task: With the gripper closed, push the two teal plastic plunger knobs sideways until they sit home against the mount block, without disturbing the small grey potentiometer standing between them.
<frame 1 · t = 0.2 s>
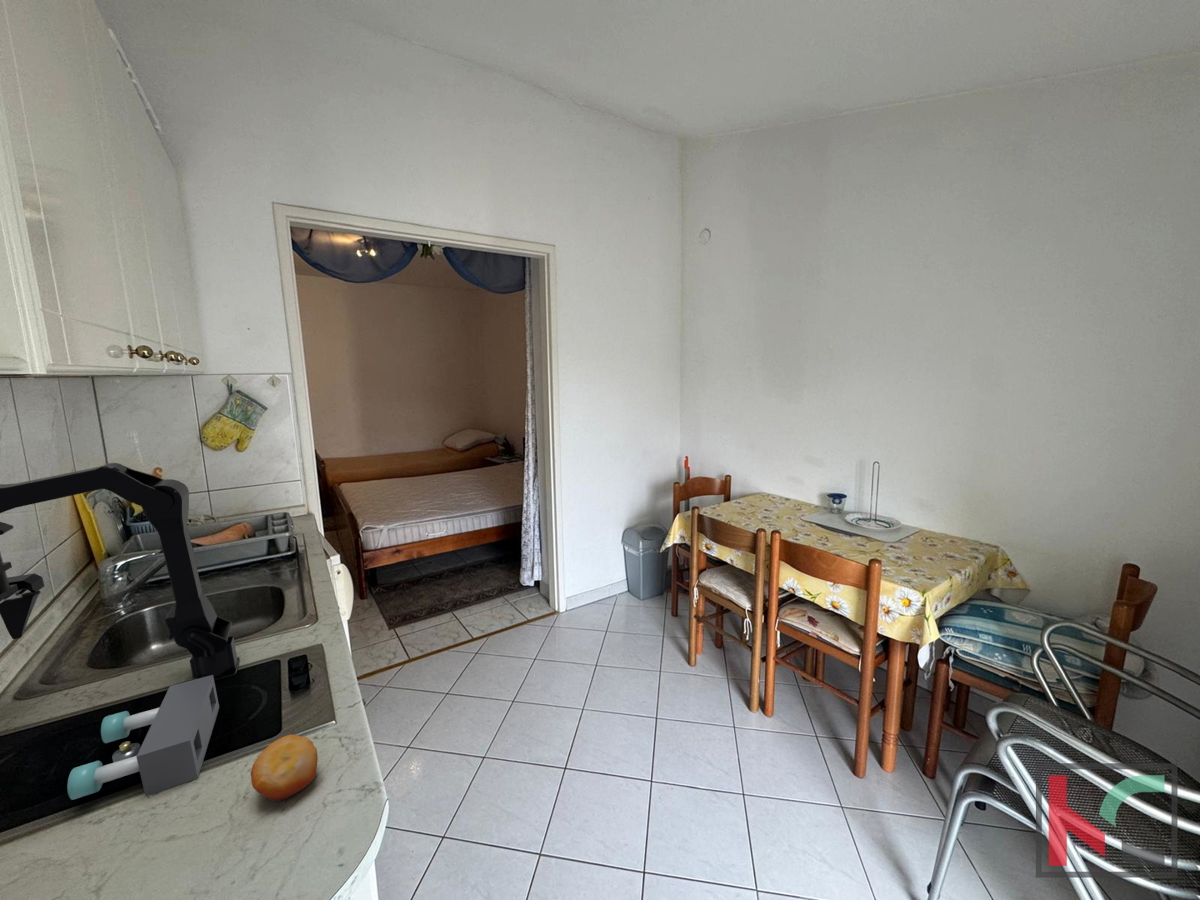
hand: (0, 651, 84), 14 cm above the worktop, fingers open, 9 cm apart
fruit: (288, 789, 72), on the worktop
mount: (186, 746, 81), on the worktop
knob b: (116, 770, 72), point 4 cm above the worktop, slide at 5.0 cm
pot: (129, 764, 78), on the worktop
knob a: (142, 719, 82), point 4 cm above the worktop, slide at 5.0 cm
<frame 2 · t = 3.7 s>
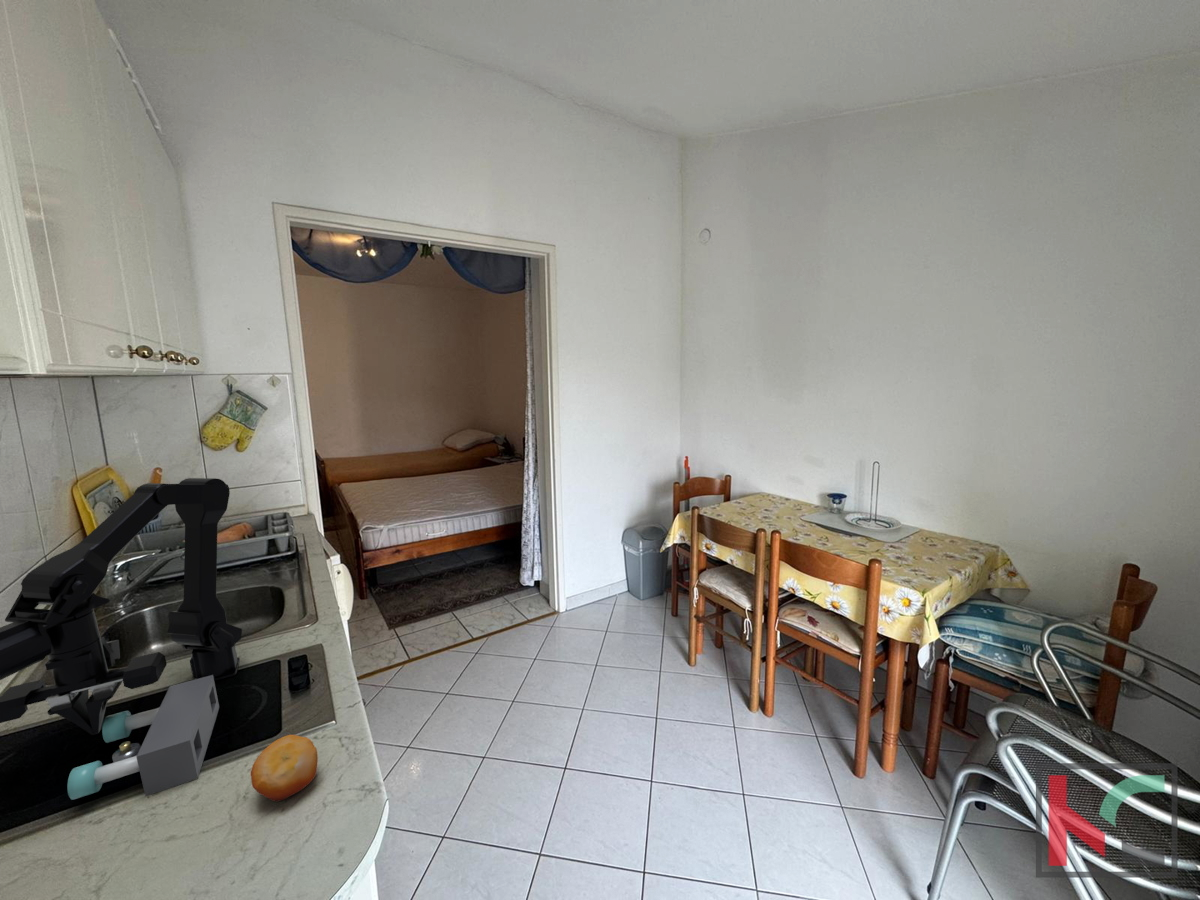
hand: (96, 732, 80), 3 cm above the worktop, fingers closed
knob a: (143, 719, 82), point 4 cm above the worktop, slide at 4.8 cm, touching gripper
everything else where it was.
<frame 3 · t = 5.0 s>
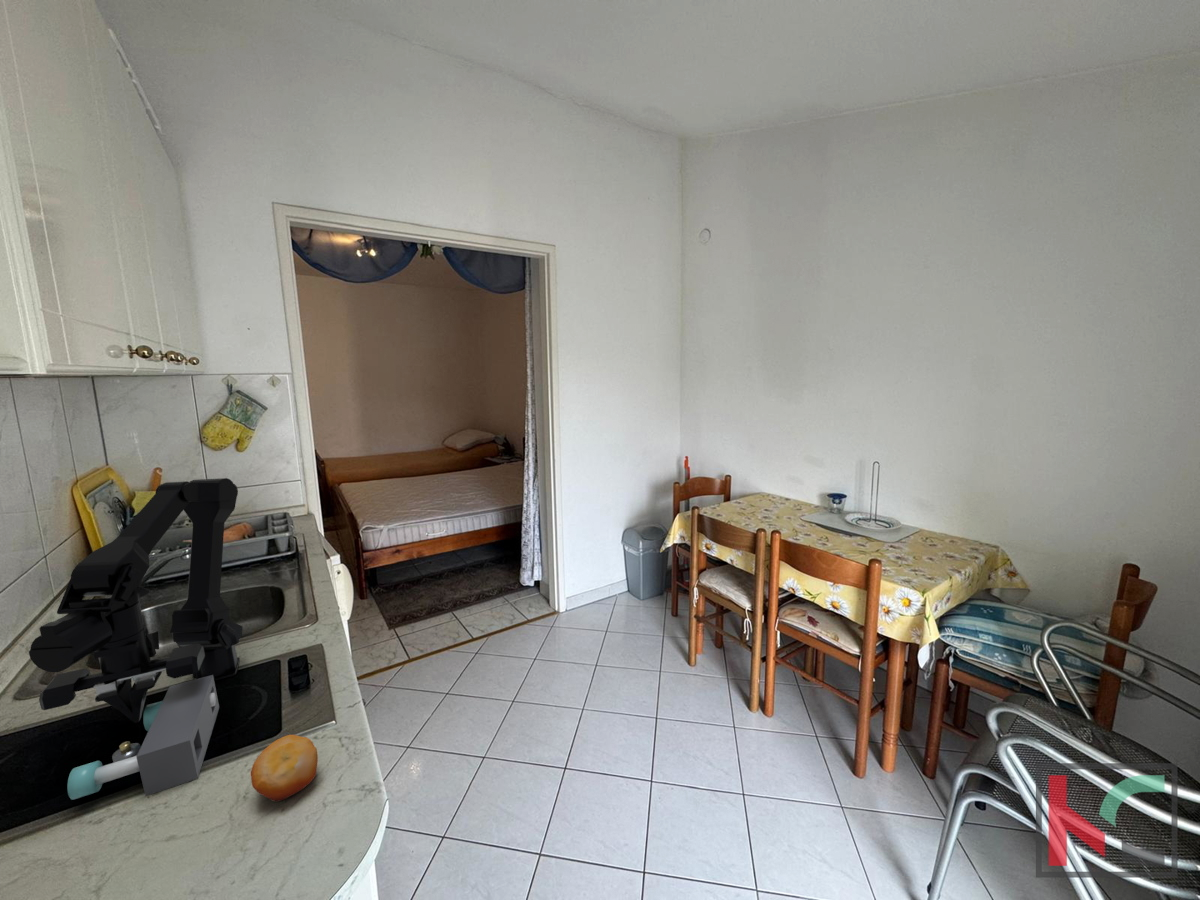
hand: (137, 720, 82), 3 cm above the worktop, fingers closed
knob a: (181, 708, 85), point 4 cm above the worktop, slide at -0.1 cm, touching gripper
everything else where it was.
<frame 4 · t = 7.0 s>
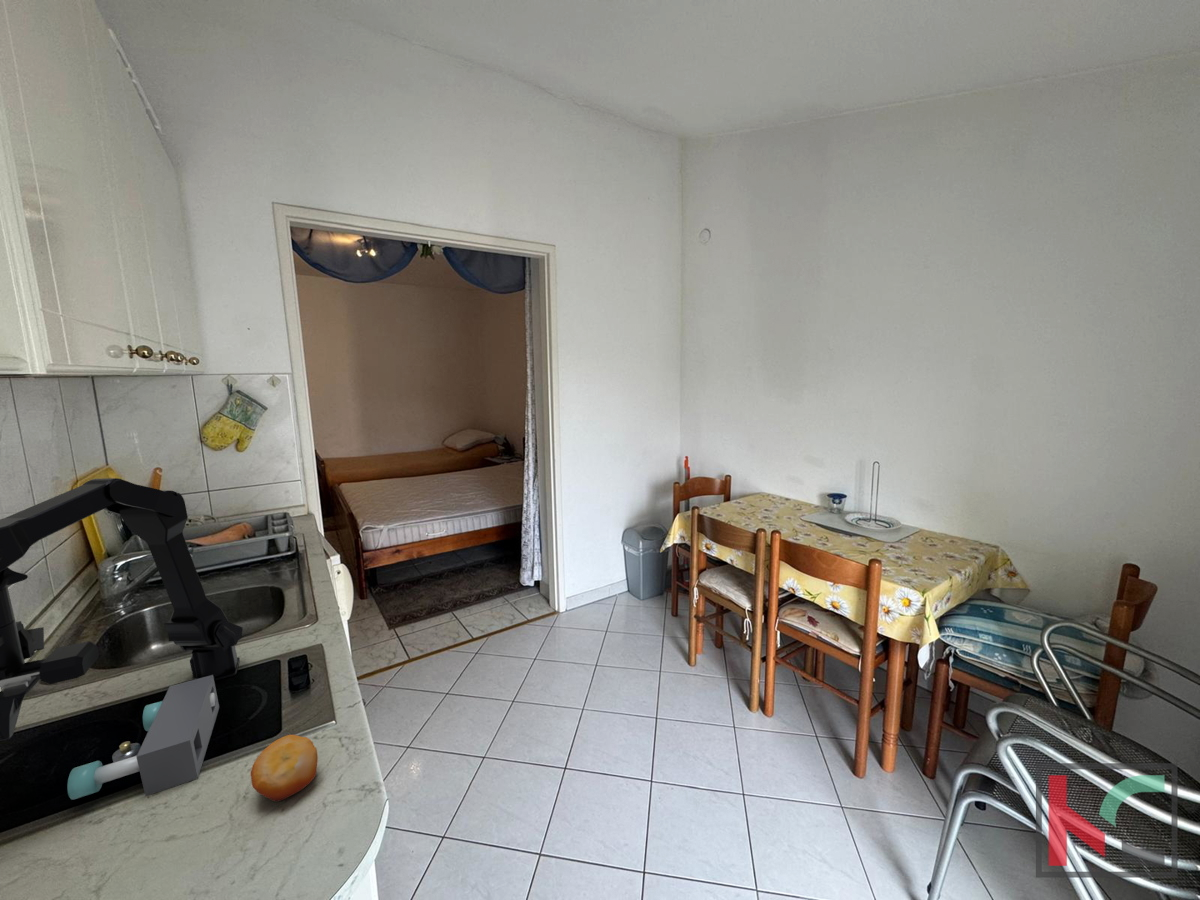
hand: (7, 737, 66), 13 cm above the worktop, fingers closed
knob a: (181, 708, 85), point 4 cm above the worktop, slide at 0.0 cm
everything else where it was.
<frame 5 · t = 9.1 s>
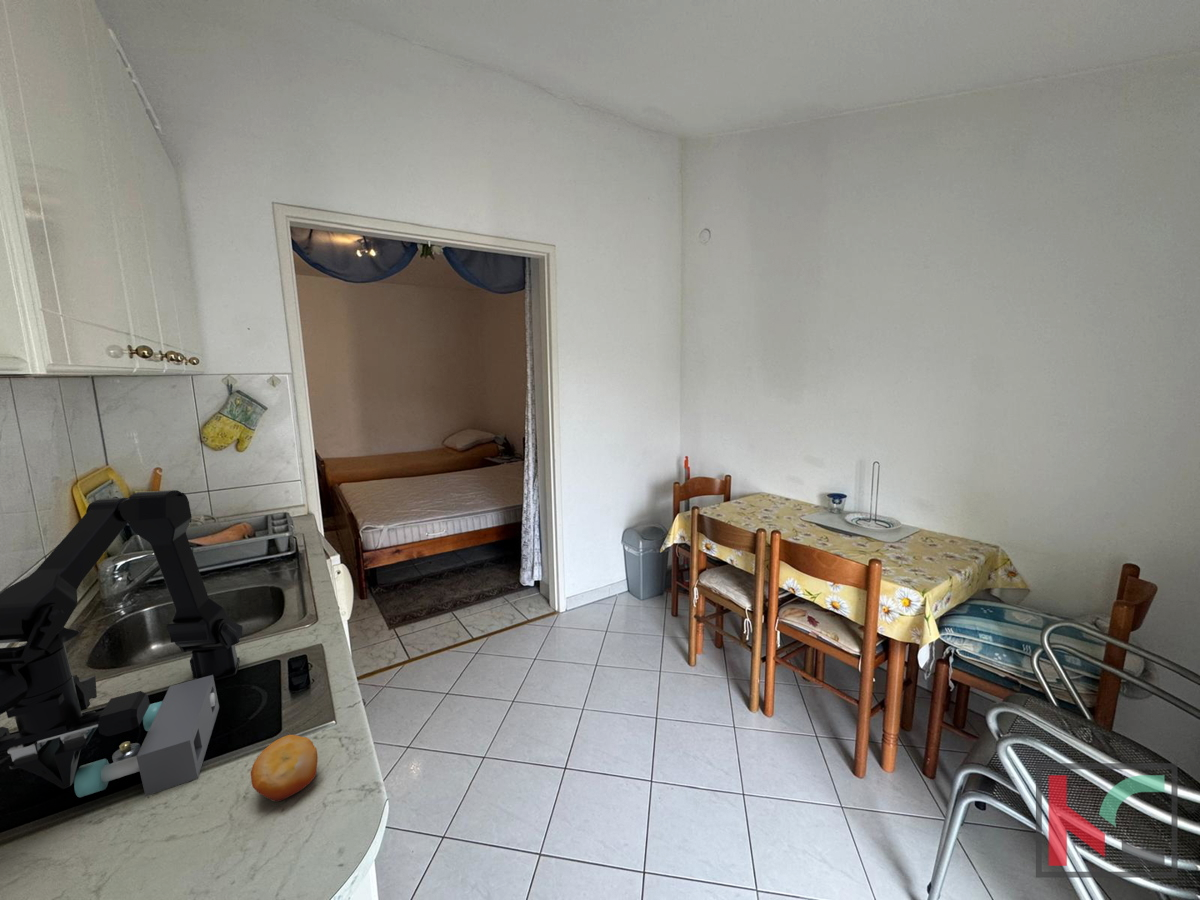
hand: (68, 785, 70), 3 cm above the worktop, fingers closed
knob b: (123, 768, 72), point 4 cm above the worktop, slide at 4.3 cm, touching gripper
everything else where it was.
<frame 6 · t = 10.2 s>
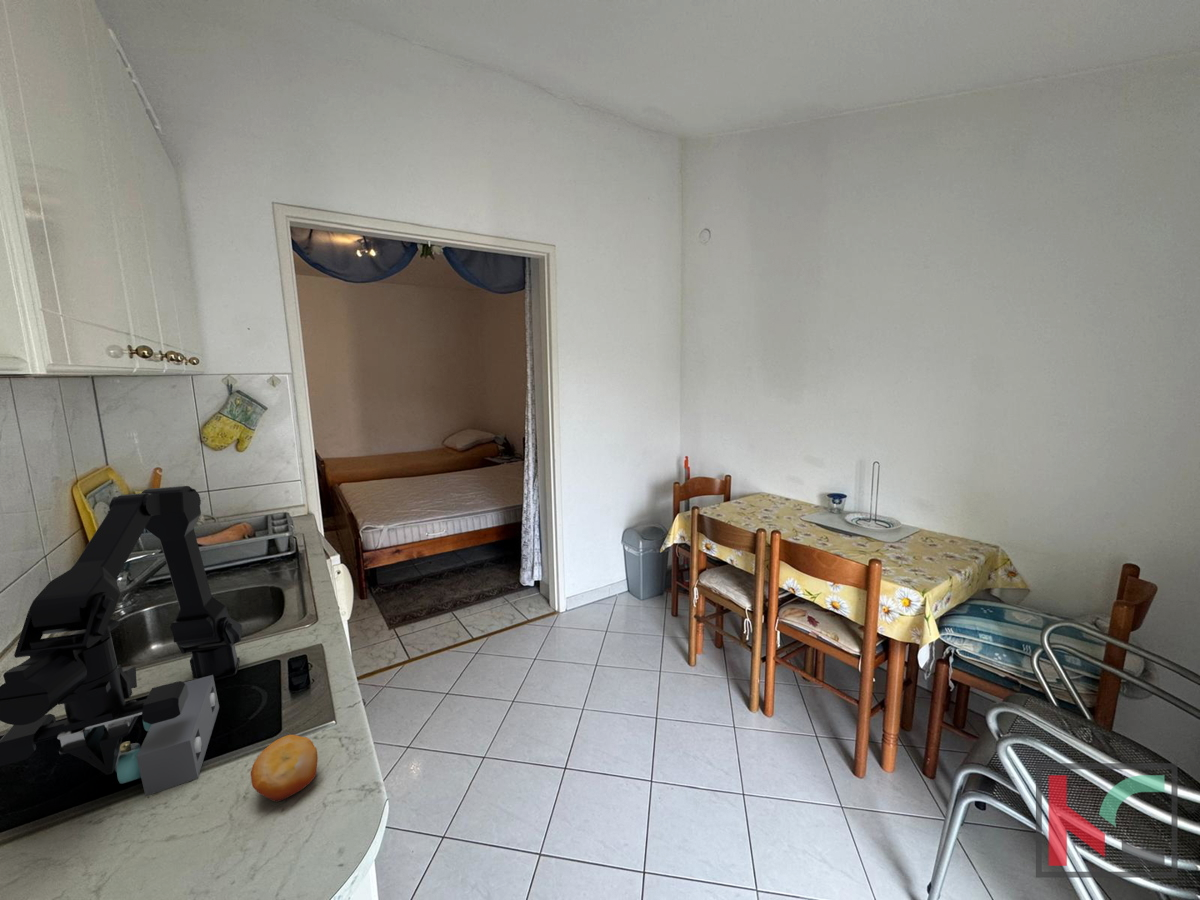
hand: (111, 771, 72), 3 cm above the worktop, fingers closed
knob b: (162, 755, 74), point 4 cm above the worktop, slide at -0.1 cm, touching gripper
everything else where it was.
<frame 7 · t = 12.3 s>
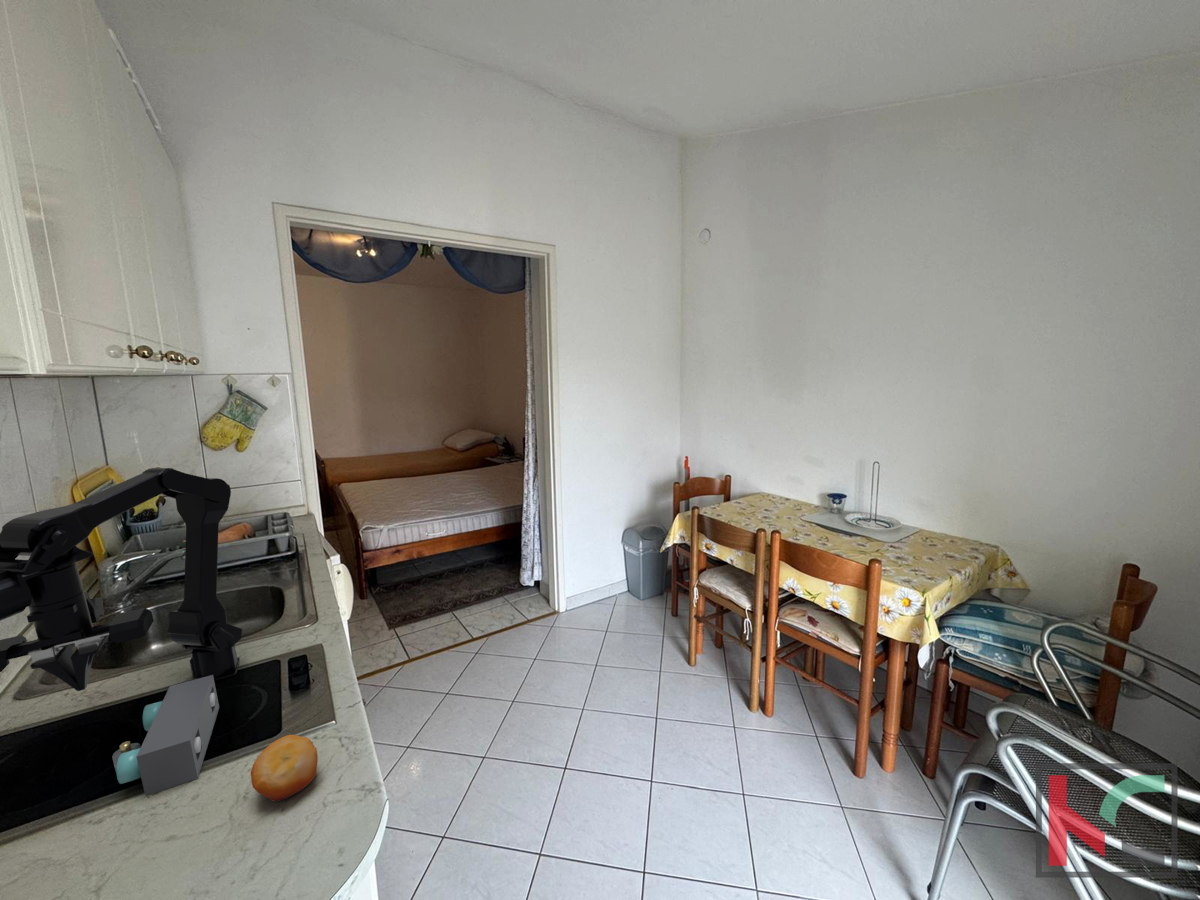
hand: (82, 688, 78), 12 cm above the worktop, fingers closed
knob b: (161, 756, 74), point 4 cm above the worktop, slide at 0.0 cm
everything else where it was.
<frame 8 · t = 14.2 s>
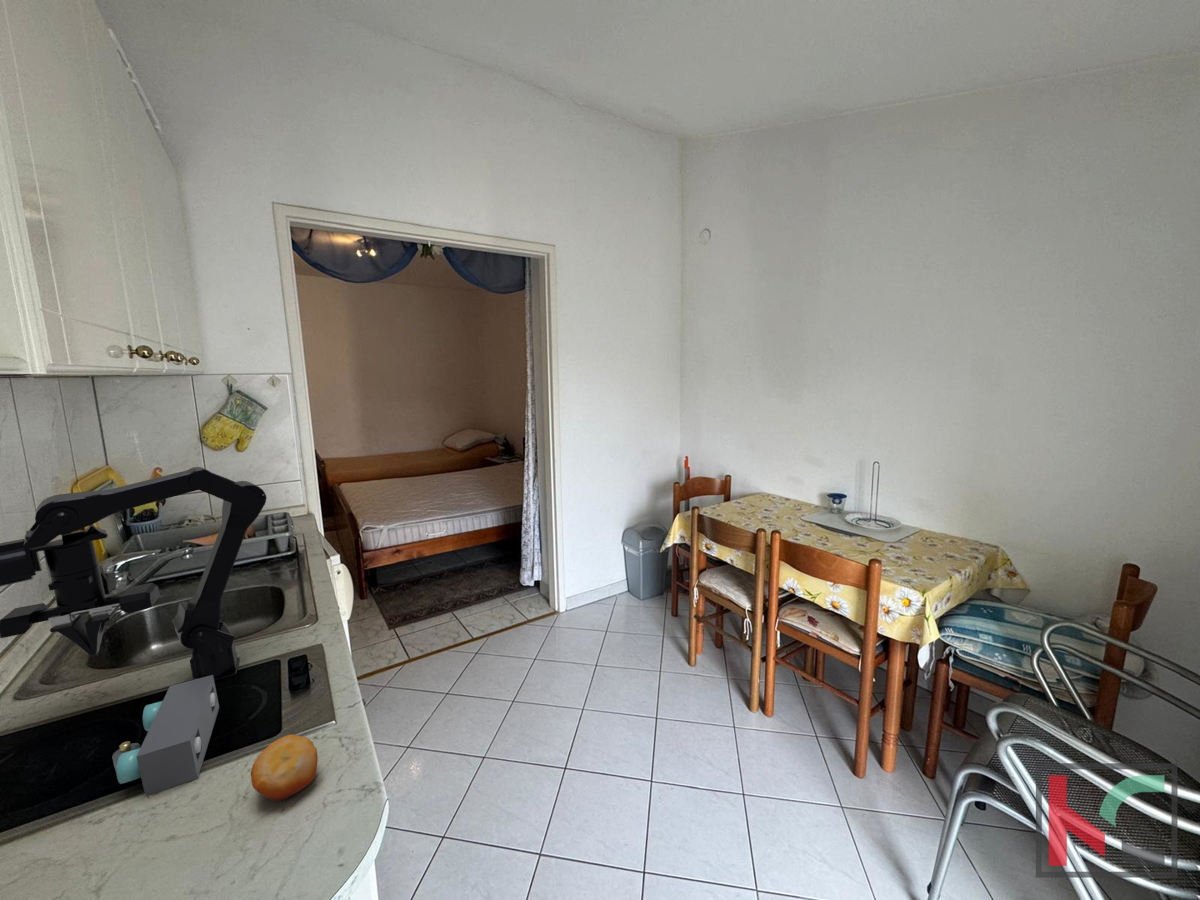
hand: (94, 653, 87), 12 cm above the worktop, fingers closed
nothing on the worktop moved.
at the end: knob a slide at 0.0 cm; knob b slide at 0.0 cm; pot moved 0.1 cm from its start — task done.
